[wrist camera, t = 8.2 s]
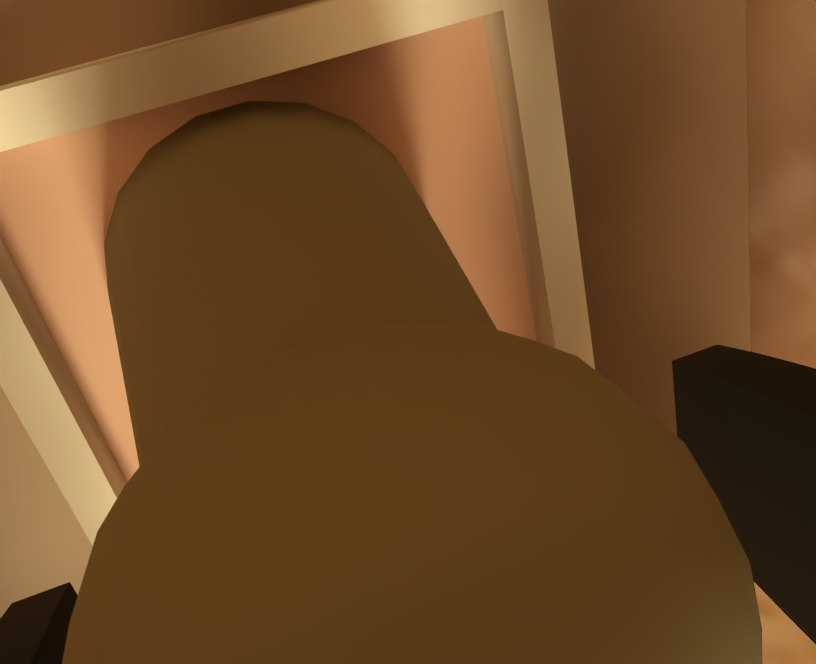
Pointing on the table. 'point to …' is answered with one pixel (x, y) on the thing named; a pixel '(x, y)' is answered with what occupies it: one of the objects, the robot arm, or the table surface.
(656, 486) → the cork
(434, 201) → the coaster board
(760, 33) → the table surface
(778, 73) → the table surface
